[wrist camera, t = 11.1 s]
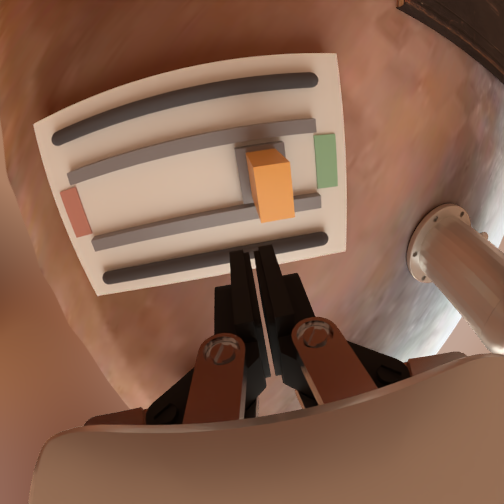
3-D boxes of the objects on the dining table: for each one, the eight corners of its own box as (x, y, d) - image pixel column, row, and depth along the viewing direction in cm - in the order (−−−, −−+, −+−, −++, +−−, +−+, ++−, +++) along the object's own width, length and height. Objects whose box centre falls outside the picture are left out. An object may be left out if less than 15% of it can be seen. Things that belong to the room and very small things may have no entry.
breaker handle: (281, 140, 23) (301, 154, 17) (287, 192, 25) (306, 220, 20) (234, 147, 22) (239, 163, 17) (242, 200, 25) (250, 230, 20)
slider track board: (324, 57, 22) (340, 52, 18) (335, 237, 32) (349, 255, 29) (48, 120, 21) (27, 125, 17) (104, 280, 31) (94, 301, 28)
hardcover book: (395, -72, 11) (404, -78, 9) (505, 10, 15) (514, 10, 13) (393, 9, 19) (405, 5, 17) (504, 87, 23) (515, 89, 21)
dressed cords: (314, 72, 20) (319, 71, 19) (325, 240, 28) (330, 246, 27) (54, 132, 19) (47, 135, 18) (107, 280, 28) (104, 288, 27)
